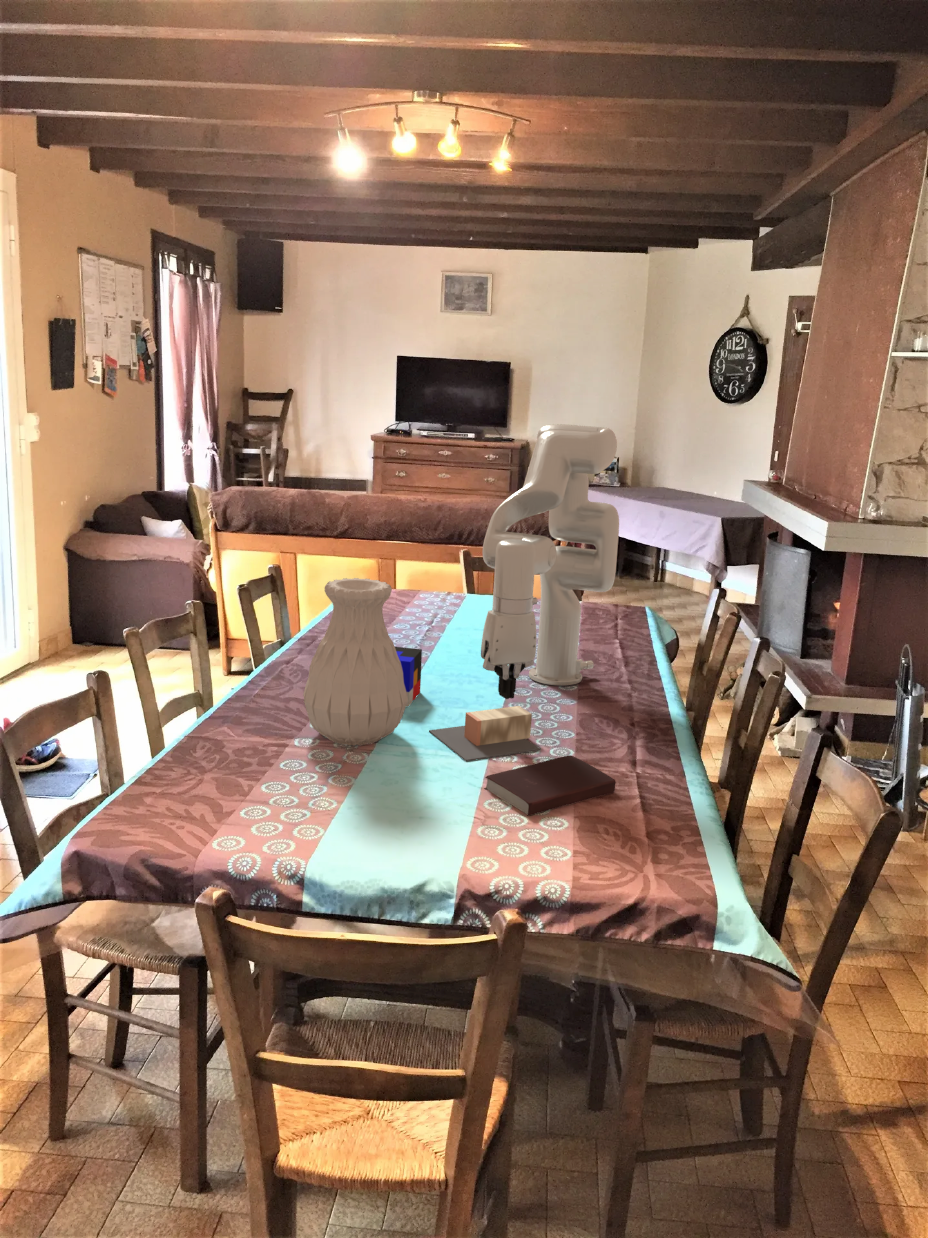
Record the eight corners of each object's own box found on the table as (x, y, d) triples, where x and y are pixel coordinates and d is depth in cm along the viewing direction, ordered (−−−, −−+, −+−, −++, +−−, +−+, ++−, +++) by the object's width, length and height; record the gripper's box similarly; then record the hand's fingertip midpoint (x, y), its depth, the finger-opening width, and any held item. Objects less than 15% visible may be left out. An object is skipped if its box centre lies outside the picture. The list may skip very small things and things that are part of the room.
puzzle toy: (408, 706, 206) (410, 661, 203) (363, 701, 208) (364, 656, 205) (420, 692, 215) (421, 649, 213) (376, 687, 217) (378, 644, 215)
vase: (427, 739, 188) (434, 588, 180) (345, 764, 174) (348, 601, 167) (363, 711, 202) (366, 569, 194) (281, 731, 188) (282, 580, 180)
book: (615, 795, 168) (617, 778, 167) (528, 819, 157) (529, 800, 156) (568, 770, 178) (569, 753, 177) (483, 791, 167) (484, 773, 166)
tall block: (519, 705, 194) (465, 712, 188) (531, 714, 189) (477, 721, 184) (517, 729, 195) (464, 736, 189) (530, 738, 190) (476, 745, 185)
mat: (499, 722, 199) (499, 721, 199) (540, 750, 185) (540, 748, 185) (428, 731, 192) (429, 730, 192) (465, 761, 178) (465, 759, 178)
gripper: (535, 598, 191) (529, 687, 195) (468, 602, 184) (463, 694, 188) (556, 607, 184) (549, 698, 189) (487, 612, 177) (481, 707, 182)
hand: (506, 696), depth 189 cm, fingers closed
